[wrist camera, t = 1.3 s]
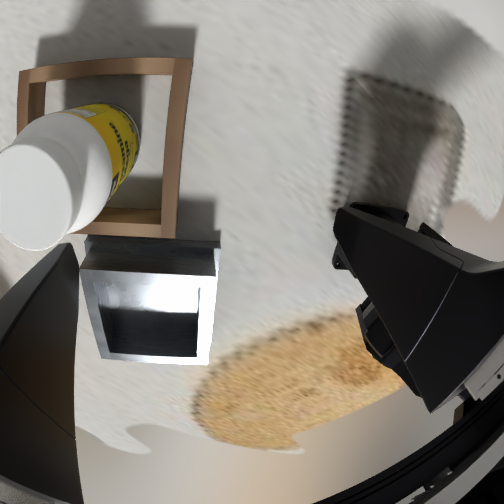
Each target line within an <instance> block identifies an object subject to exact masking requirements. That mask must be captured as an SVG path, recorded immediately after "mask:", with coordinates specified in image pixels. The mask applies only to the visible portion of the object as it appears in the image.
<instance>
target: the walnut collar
mask: <svg viewBox="0 0 504 504" xmlns="http://www.w3.org/2000/svg"><path fill="white" fill-rule="evenodd" d="M192 67H193V60H192V59H183V58H114V59H99V60H87V61H78V62H70V63H62V64H56V65H49V66H43V67H38V68H33V69H28V70H23V71H19V82H18V97H17V136H18V134H19V133H20V132H21V131H22V130H23V129H24V128H25V127H26V126H27V125H28V124H29V123H31V122H32V121H34V120H35V119H38V118H40V117H42V116H44V102H45V86H46V82H47V81H54V80H62V79H71V78H80V77H92V76H108V75H173V76H172V84H171V91H170V100H169V108H168V118H167V128H166V139H165V152H164V166H163V184H162V209H161V210H151V209H128V208H103V210H102V211H101V212H100V213H99V214H98V216H97V217H96V218H95V219H94V220H93V221H92V222H91V223H89V224H88V225H87V226H85V227H83V228H82V229H80V230H78V231H75V232H72V233H73V234H95V235H116V236H137V237H156V238H175V235H176V228H177V217H178V199H179V184H180V171H181V159H182V148H183V138H184V128H185V119H186V111H187V103H188V95H189V88H190V81H191V74H192Z"/></svg>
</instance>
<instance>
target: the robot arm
mask: <svg viewBox="0 0 504 504" xmlns="http://www.w3.org/2000/svg"><path fill="white" fill-rule="evenodd" d="M355 207H357V209H355ZM404 214H405V215H404ZM403 215H404V217H403ZM408 218H409V213H408V212H407V211H406V210H402V209H396V208H391V207H385V206H379V205H373V204H366V203H360V202H354V203H352V204H351V205H350V207H339V208H338V209H337V211H336V216H335V221H334V226H333V232H334V235H335V237H336V239H337V241H338V244H337V247H336V250H335V251H336V253H335V256H334V259H333V262H332V265H333V267H334V268H335V269H342V270H349V271H350V272H351V274H352V275H353V277H354V278H357V279H358V280H359V282H360V283H361V285H362V287H363V288H364V290H365V292H366V294H367V295H368V297H367V298H366V299H365V301H364V302H363V303H362V304H360V305H359V306H358V307H357V308H356V313H357V316H358V320H359V324H360V328H361V332H362V336H363V340H364V343H365V345H366V349H367V350H368V351H369V352H370V353H371V354H372V356H373V358H374V359H376V360H378V361H379V362H380V363H381V364H383V365H384V366H386V367H388V368H390V369H392V370H393V371H394V372H395V373H397V374H398V375H399V376H400V377H401V378H402V380H403V381H404V382H405V383H406V384H407V385H408V386H409V387H410V389H411V390H412V391H413V393H414V394H415V395H416V396H419V397H421V398H423V400H424V403H425V405H426V407H427V409H428V411H429V412H430V413H433V412H434V411H436V410H437V409H438V408H440V407H441V406H442V405H444V404H446V403H447V402H448V401H450V400H451V399H453V398H454V397H455V396H459V397H460V398H461V399H462V400H463V401H464V402H463V403H462V404H461V405H459V406H458V407H457V408H456V409H455V413H454V421H453V425H452V426H451V427H450V428H448V429H447V430H446V431H444V432H443V433H442V434H441V435H439V436H438V437H436V438H435V439H433V440H432V441H431V442H429V443H428V444H426V445H425V446H423V447H422V448H420V449H419V450H417V451H416V452H414V453H413V454H411V455H409V456H408V457H407V458H405V459H403V460H401V461H400V462H398V463H396V464H395V465H393V466H391V467H389V468H388V469H386V470H384V471H382V472H381V473H379V474H377V475H375V476H373V477H371V478H369V479H367V480H365V481H363V482H361V483H359V484H357V485H355V486H353V487H351V488H349V489H346V490H344V491H342V492H340V493H338V494H335V495H333V496H331V497H328V498H326V499H323V500H321V501H318V502H316V503H313V504H395V503H397V502H399V501H400V500H401V499H403V498H405V497H406V496H408V495H410V494H411V493H413V492H414V491H416V490H417V489H419V488H420V487H421V486H423V487H424V489H425V492H423V493H422V494H419V495H417V496H415V497H414V498H412V499H411V501H412V502H411V503H409V504H504V261H503V262H493V261H489V260H486V259H483V258H481V257H478V256H476V255H473V254H471V253H468V252H465V251H463V250H460V249H458V248H455V247H453V246H452V245H451V244H450V243H449V242H447V241H446V240H445V239H444V238H443V237H441V236H440V235H439V234H438V233H436V232H435V231H434V230H433V229H431V228H430V227H429V226H428V225H426V224H425V223H424V222H422V224H421V225H420V227H419V228H420V229H419V230H418V232H416V231H413V230H411V229H408V228H406V227H405V226H406V223H407V221H408ZM339 262H340V263H339ZM337 263H339V264H338V265H336V264H337ZM79 272H80V270H79V264H78V261H77V258H76V255H75V252H74V249H73V246H72V244H71V243H62V244H59V245H57V246H56V247H55V248H54V249H53V250H52V251H51V252H49V253H48V254H47V255H46V256H45V257H44V258H43V259H42V260H40V261H39V262H38V263H37V264H36V265H35V266H34V267H33V268H32V269H31V270H30V271H29V272H27V273H26V274H25V275H24V276H23V277H22V278H21V279H20V280H19V281H18V282H17V283H16V284H15V285H14V286H13V287H12V288H11V289H10V290H9V291H8V292H7V293H6V294H5V295H4V296H3V297H2V298H1V299H0V504H84V501H83V495H82V489H81V483H80V476H79V468H78V459H77V448H76V440H75V438H76V437H75V419H74V365H75V346H76V333H77V322H78V311H79Z"/></svg>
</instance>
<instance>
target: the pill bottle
mask: <svg viewBox="0 0 504 504" xmlns="http://www.w3.org/2000/svg"><path fill="white" fill-rule="evenodd" d="M139 150H140V137H139V132H138V128H137V126H136V124H135V122H134V120H133V119H132V118H131V116H130V115H129V114H128V113H127V112H126V111H124V110H123V109H121V108H120V107H118V106H115V105H112V104H108V103H96V104H90V105H85V106H81V107H76V108H72V109H68V110H63V111H59V112H55V113H51V114H47V115H44V116H42V117H40V118H38V119H35V120H34V121H32V122H31V123H29V124H28V125H27V126H26V127H25V128H24V129H23V130H22V131H21V132H20V133H19V134H18V136H17V137H16V139H15V140H14V142H13V144H12V145H10V146H8V147H6V148H5V149H3V150H2V151H1V152H0V233H1V234H2V235H3V236H4V237H5V238H6V239H7V240H8V241H10V242H11V243H13V244H14V245H16V246H18V247H20V248H22V249H25V250H31V251H40V250H45V249H48V248H50V247H52V246H54V245H55V244H57V243H58V242H59V241H60V240H61V239H62V238H63V237H64V235H65V234H68V233H72V232H75V231H78V230H80V229H82V228H83V227H85V226H87V225H88V224H89V223H91V222H92V221H93V220H94V219H95V218H96V217H97V216H98V214H99V213H100V212H101V211H102V210H103V208H104V207H105V205H106V204H107V203H108V201H109V200H110V198H111V197H112V196H113V194H114V193H115V192H116V190H117V189H118V188H119V186H120V185H121V183H122V182H123V181H124V179H125V178H126V177H127V176H128V174H129V173H130V172H131V170H132V168H133V167H134V165H135V163H136V161H137V158H138V154H139Z"/></svg>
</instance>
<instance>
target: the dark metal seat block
mask: <svg viewBox="0 0 504 504" xmlns="http://www.w3.org/2000/svg"><path fill="white" fill-rule="evenodd" d="M84 243H85V250H86V257H85V259H84V261H83V262H82V264H81V266H80V268H79V270H80V276H81V281H82V286H83V291H84V295H85V300H86V304H87V308H88V312H89V316H90V320H91V324H92V328H93V331H94V335H95V339H96V342H97V345H98V349H99V352H100V355H101V358H103V359H113V360H123V361H135V362H149V363H167V364H196V365H208V356H209V345H210V344H211V336H212V326H213V316H214V307H215V297H216V288H217V279H218V270H219V262H220V253H221V245H220V242H206V241H187V240H169V239H149V238H130V237H109V236H87V238H86V240H85V241H84Z"/></svg>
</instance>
